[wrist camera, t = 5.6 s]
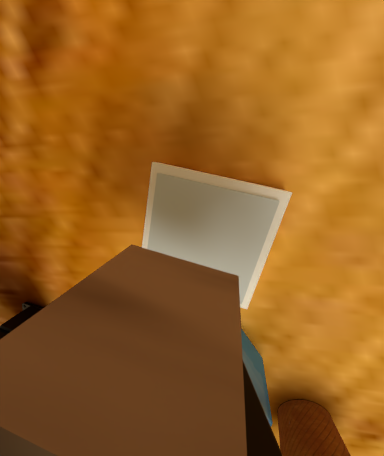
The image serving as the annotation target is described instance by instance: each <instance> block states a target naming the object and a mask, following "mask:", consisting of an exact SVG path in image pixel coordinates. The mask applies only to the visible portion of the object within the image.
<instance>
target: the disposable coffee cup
mask: <svg viewBox="0 0 384 456" xmlns="http://www.w3.org/2000/svg"><path fill="white" fill-rule="evenodd" d="M278 425H279V437H280V449H281V453H282V455H283V456H350V454H349V452H348V450H347V448H346V446H345V444H344V442H343V440H342V438H341V436H340V434H339V432H338V430H337V428H336V426H335V424H334V422H333V420H332V418H331V416H330V414H329V413H328V411H327V410H326V409H324V408H323V407H322V406H320V405H318V404H316V403H314V402H310V401H306V400H291V401H287V402H285V403H283V404H282V405H281V406H280V407H279V408H278Z"/></svg>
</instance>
